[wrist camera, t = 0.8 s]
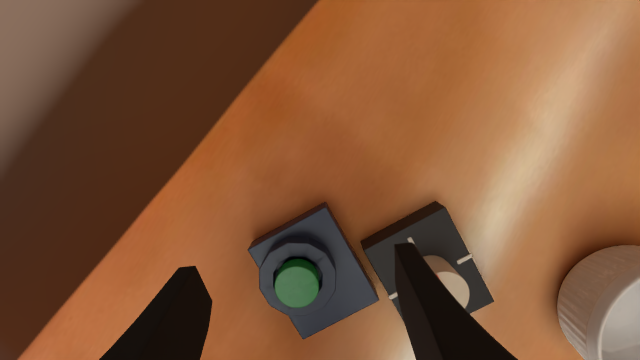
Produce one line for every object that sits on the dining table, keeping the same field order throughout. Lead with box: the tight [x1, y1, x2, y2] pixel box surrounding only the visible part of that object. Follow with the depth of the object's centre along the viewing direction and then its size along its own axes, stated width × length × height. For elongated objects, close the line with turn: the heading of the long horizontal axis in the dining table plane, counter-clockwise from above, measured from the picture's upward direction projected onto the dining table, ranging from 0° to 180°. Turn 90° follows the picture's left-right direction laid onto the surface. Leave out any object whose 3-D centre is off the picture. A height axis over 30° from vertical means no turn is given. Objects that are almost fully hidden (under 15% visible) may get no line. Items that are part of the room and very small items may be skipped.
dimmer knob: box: [423, 255, 469, 309], centre depth 29 cm, size 4×4×4 cm
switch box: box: [248, 202, 379, 339], centre depth 31 cm, size 10×8×4 cm
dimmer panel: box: [361, 201, 494, 321], centre depth 32 cm, size 10×8×3 cm
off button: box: [274, 259, 319, 308], centre depth 29 cm, size 4×4×2 cm
